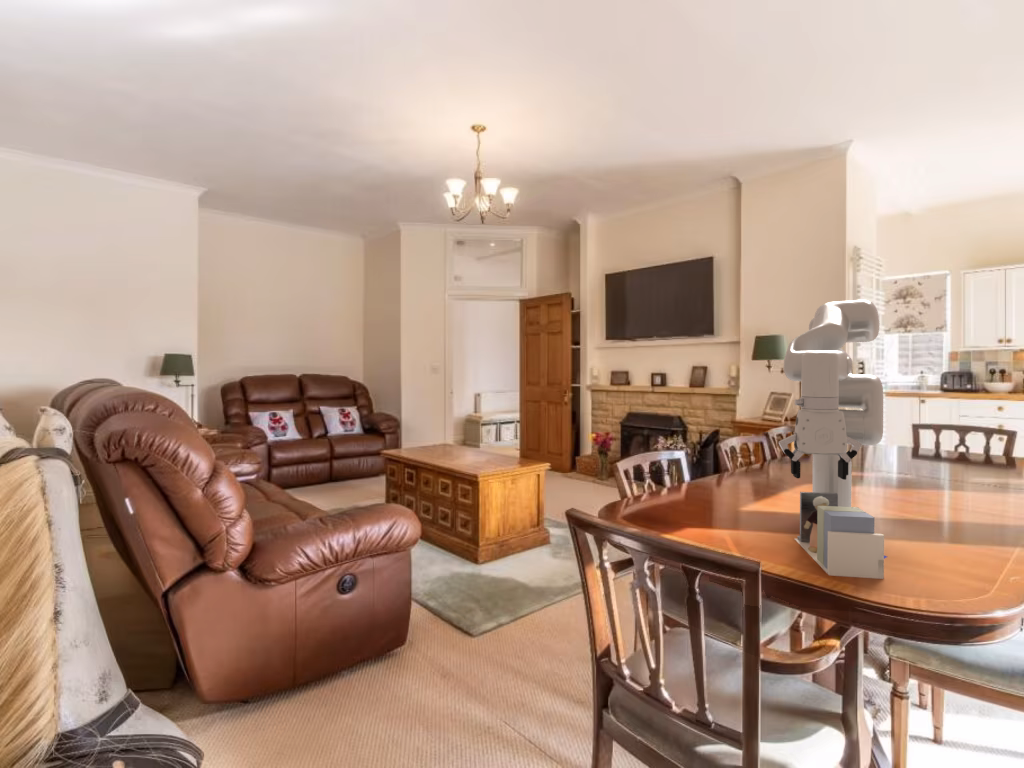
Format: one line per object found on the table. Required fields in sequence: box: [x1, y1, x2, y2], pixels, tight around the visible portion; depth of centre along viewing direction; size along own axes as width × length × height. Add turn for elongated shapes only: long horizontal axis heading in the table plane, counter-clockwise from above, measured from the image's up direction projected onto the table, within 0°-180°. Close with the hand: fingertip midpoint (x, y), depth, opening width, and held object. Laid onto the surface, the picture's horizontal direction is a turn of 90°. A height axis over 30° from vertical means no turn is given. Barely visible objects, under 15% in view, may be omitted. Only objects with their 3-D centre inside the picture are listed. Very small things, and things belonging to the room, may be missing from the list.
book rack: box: [794, 531, 885, 580], centre depth 122 cm, size 24×10×10 cm, turn 168°
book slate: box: [824, 511, 875, 569], centre depth 113 cm, size 4×8×12 cm, turn 78°
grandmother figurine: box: [804, 496, 829, 553], centre depth 125 cm, size 8×4×13 cm, turn 113°
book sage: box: [817, 506, 866, 566], centre depth 117 cm, size 4×8×12 cm, turn 78°
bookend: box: [796, 491, 838, 542], centre depth 132 cm, size 3×8×12 cm, turn 78°
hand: (819, 477), depth 126 cm, fingers open, 9 cm apart
